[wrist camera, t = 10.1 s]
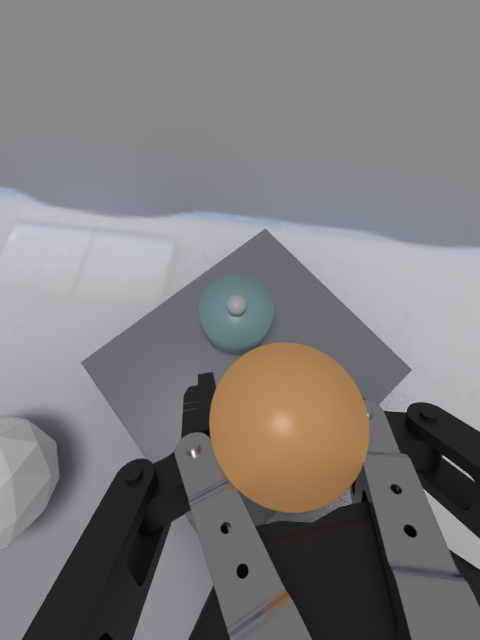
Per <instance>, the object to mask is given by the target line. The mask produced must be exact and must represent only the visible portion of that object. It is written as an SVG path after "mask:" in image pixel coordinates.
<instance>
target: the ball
mask: <svg viewBox="0 0 480 640" xmlns="http://www.w3.org/2000/svg"><path fill="white" fill-rule="evenodd" d="M59 478H60V476H59V466H58V455H57V445H56V442H55V441H54V440H53V439H52V438H50V437H49V436H48V435H47V434H46V433H44V432H43V431H42V430H41V429H39V428H38V427H37V426H36V425H34V424H33V423H31V422H30V421H28V420H27V419H23V418H18V417H14V416H9V415H0V550H2V549H4V548H7V547H8V546H9V545H10V544H11V543H12V542H13V541H14V540H15V539H16V538H17V537H18V536H19V535H20V534H21V533H22V532H23V531H24V530H25V529H26V528H27V527H28V526H29V525H30V524H31V523H32V522H33V521H34V520H35V519H36V518H37V517H38V516H39V515H40V514H41V513H42V512H43V511H44V510H45V508H46V506H47V504H48V502H49V500H50V497H51V495H52V493H53V491H54V489H55V487H56V484H57V482H58V480H59Z"/></svg>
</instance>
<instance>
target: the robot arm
mask: <svg viewBox="0 0 480 640" xmlns="http://www.w3.org/2000/svg"><path fill="white" fill-rule="evenodd" d="M215 390H216V384H215V379H214V374H213V372H207V373H202V374H198V385H196V386H190V387H188V388H187V390H186V392H185V394H184V397H183V414H182V431H181V440H180V441H179V442H178V443H177V445H176V447H175V451H174V452H172V453H171V454H170V455H169V456H167V457H165V458H163V459H161V460H159V461H157V462H155V463H153V464H152V462H151V461H149V460H147V459H136V460H133V461H131V462H129V463H127V464H126V465H125V466H123V467H122V468H121V469H120V470H119V472H118V473H117V474H116V476H115V478H114V480H113V481H112V483H111V485H110V487H109V488H108V490H107V492H106V494H105V495H104V497H103V499H102V501H101V502H100V504H99V506H98V508H97V509H96V511H95V513H94V515H93V516H92V518H91V520H90V522H89V523H88V525H87V527H86V529H85V530H84V532H83V534H82V536H81V537H80V539H79V541H78V543H77V544H76V546H75V548H74V550H73V551H72V553H71V555H70V557H69V558H68V560H67V562H66V564H65V565H64V567H63V569H62V570H61V572H60V574H59V576H58V577H57V579H56V581H55V583H54V584H53V586H52V588H51V590H50V591H49V593H48V595H47V597H46V598H45V600H44V602H43V604H42V605H41V607H40V609H39V611H38V612H37V614H36V616H35V618H34V619H33V621H32V623H31V625H30V626H29V628H28V630H27V632H26V633H25V635H24V637H23V639H22V640H132V639H133V636H134V633H135V630H136V627H137V624H138V621H139V618H140V615H141V612H142V609H143V606H144V603H145V600H146V597H147V594H148V591H149V588H150V585H151V582H152V579H153V576H154V573H155V570H156V567H157V564H158V561H159V558H160V555H161V552H162V549H163V546H164V543H165V540H166V538H167V535H168V532H169V529H170V526H171V522H172V521H174V520H175V519H177V518H179V517H180V516H182V515H184V514H185V513H187V512H189V511H190V510H191V511H192V514H193V518H194V521H195V524H196V528H197V531H198V534H199V538H200V541H201V544H202V548H203V551H204V554H205V558H206V561H207V564H208V568H209V571H210V574H211V577H212V581H213V584H214V585H213V587H212V590H211V592H210V594H209V596H208V598H207V600H206V603H205V605H204V607H203V609H202V611H201V613H200V616H199V618H198V620H197V622H196V624H195V626H194V629H193V631H192V633H191V635H190V637H189V639H188V640H480V570H479V569H478V568H476V567H475V566H473V565H472V564H470V563H469V562H467V561H466V560H464V559H463V558H461V557H460V556H458V555H457V554H455V553H454V552H452V551H451V550H449V549H448V547H447V544H446V542H445V540H444V537H443V535H442V533H441V530H440V528H439V526H438V523H437V521H436V518H435V516H434V514H433V511H432V509H431V507H430V504H429V502H428V500H427V497H426V495H425V492H424V490H423V489H425V490H426V491H427V492H428V493H429V494H430V495H431V496H432V497H434V498H435V499H436V500H437V501H438V502H439V503H440V504H441V505H443V506H444V507H445V508H446V509H447V510H448V511H449V512H450V513H452V514H453V515H454V516H455V517H456V518H457V519H458V520H459V521H461V522H462V523H463V524H464V525H465V526H466V527H467V528H468V529H470V530H471V531H472V532H473V533H474V534H475V535H476V536H477V537H479V538H480V432H479V431H477V430H476V429H474V428H472V427H471V426H469V425H467V424H466V423H464V422H463V421H461V420H459V419H458V418H456V417H454V416H453V415H451V414H449V413H448V412H446V411H445V410H443V409H441V408H439V407H438V406H435V405H433V404H429V403H423V402H419V403H413V404H411V405H410V406H409V407H408V409H407V413H405V412H389V411H383V409H382V408H381V407H380V406H379V405H377V404H376V403H374V402H371V401H368V400H365V399H364V398H363V396H362V398H363V400H364V403H365V406H366V410H367V414H368V420H369V445H368V451H367V455H366V459H365V461H364V462H363V466H362V469H361V471H360V473H359V474H358V476H357V478H356V480H355V481H354V482H353V484H352V485H351V486H350V493H351V498H352V504H351V505H347V506H342V507H339V508H337V509H335V510H334V511H332V512H330V513H329V514H327V515H325V516H323V517H322V518H320V519H318V520H317V521H315V522H312V523H304V522H287V521H277V522H272V523H268V524H264V525H259V526H254V524H253V522H252V520H251V517H250V515H249V513H248V511H247V509H246V507H245V505H244V503H243V501H242V499H241V497H240V495H239V493H238V490H237V488H236V487H235V486H234V485H233V484H232V483H231V482H230V480H229V479H228V478H227V476H226V475H225V473H224V472H223V470H222V469H221V467H220V465H219V463H218V461H217V458H216V456H215V453H214V450H213V447H212V442H211V437H210V427H209V419H210V409H211V403H212V399H213V396H214V393H215ZM442 455H444V456H445V457H446V458H448V459H449V460H450V461H452V462H453V463H454V464H456V465H457V466H458V467H460V468H461V469H463V470H464V471H465V472H467V473H468V474H469V475H470V476H471V477H472V478H473V479H474V481H475V482H474V481H473V480H471V479H470V478H469V477H467V476H466V475H465V474H463V473H462V472H461V471H459V470H458V469H457V468H455V467H454V466H453V465H451V464H450V463H449V462H447V461H446V460H445V459H443V458H442Z"/></svg>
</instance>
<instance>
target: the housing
mask: <svg viewBox="0 0 480 640" xmlns="http://www.w3.org/2000/svg"><path fill="white" fill-rule="evenodd" d="M280 342H289V343H298V344H302V345H306V346H310V347H312V348H315V349H317V350H319V351H321V352H323V353H325V354H327V355H328V356H329V357H331V358H332V359H334V360H335V361H336V362H337V363H338V364H340V365H341V366H342V367H343V368H344V369H345V370H346V372H347V373H348V374H349V375H350V376H351V378H352V379H353V381H354V382H355V384H356V385H357V387H358V389H359V391H360V393H361V395H362V396H363V398H364V399H365V400H368V401H371V402H374V403H376V404H377V405H379V404H380V403H381V402H382V401H383V400H384V398H385V397H386V396H387V395H388V394H389V393H390V392H391V391H392V390H393V389H394V388H395V387H396V386H397V385H398V384H399V383H400V382H401V381H402V380H403V379H404V378H405V377H406V375H407V374H408V373H409V372H410V371H411V370H412V369H411V368H410V367H408V366H407V365H406V364H405V363H404V362H403V361H402V360H401V359H400V358H399V357H398V356H397V355H396V354H395V353H394V352H393V351H392V350H391V349H390V348H389V347H388V346H387V345H386V344H385V343H384V342H383V341H381V340H380V339H379V338H378V337H377V336H376V335H375V334H374V333H373V332H372V331H371V330H370V329H369V328H368V327H367V326H366V325H365V324H364V323H363V322H362V321H361V320H360V319H359V318H358V317H357V316H355V315H354V314H353V313H352V312H351V311H350V310H349V309H348V308H347V307H346V306H345V305H344V304H343V303H342V302H341V301H340V300H339V299H338V298H337V297H336V296H335V295H334V294H333V293H332V292H331V291H329V290H328V289H327V288H326V287H325V286H324V285H323V284H322V283H321V282H320V281H319V280H318V279H317V278H316V277H315V276H314V275H313V274H312V273H311V272H310V271H309V270H308V269H307V268H306V267H305V266H303V265H302V264H301V263H300V262H299V261H298V260H297V259H296V258H295V257H294V256H293V255H292V254H291V253H290V252H289V251H288V250H287V249H286V248H285V247H284V246H283V245H282V244H281V243H280V242H279V241H277V240H276V239H275V238H274V237H273V236H272V235H271V234H270V233H269V232H268V231H267V230H266V229H264V230H263V231H261V232H260V233H259V234H257V235H256V236H255V237H253V238H252V239H250V240H249V241H248V242H246V243H245V244H244V245H242V246H241V247H239V248H238V249H237V250H235V251H234V252H233V253H231V254H230V255H228V256H227V257H226V258H224V259H223V260H221V261H220V262H219V263H217V264H216V265H215V266H213V267H212V268H210V269H209V270H208V271H206V272H205V273H204V274H202V275H201V276H199V277H198V278H197V279H195V280H194V281H193V282H191V283H190V284H188V285H187V286H186V287H184V288H183V289H182V290H180V291H179V292H177V293H176V294H175V295H173V296H172V297H171V298H169V299H168V300H166V301H165V302H164V303H162V304H161V305H159V306H158V307H157V308H155V309H154V310H153V311H151V312H150V313H148V314H147V315H146V316H144V317H143V318H142V319H140V320H139V321H137V322H136V323H135V324H133V325H132V326H131V327H129V328H128V329H126V330H125V331H124V332H122V333H121V334H120V335H118V336H117V337H115V338H114V339H113V340H111V341H110V342H109V343H107V344H106V345H104V346H103V347H102V348H100V349H99V350H97V351H96V352H95V353H93V354H92V355H91V356H89V357H88V358H86V359H85V360H84V361H82V362H81V363H82V365H83V366H84V368H85V369H86V371H87V372H88V374H89V375H90V377H91V378H92V380H93V381H94V382H95V384H96V385H97V387H98V388H99V390H100V391H101V393H102V394H103V396H104V397H105V399H106V400H107V402H108V403H109V404H110V406H111V407H112V409H113V410H114V412H115V413H116V415H117V416H118V418H119V419H120V421H121V422H122V423H123V425H124V426H125V428H126V429H127V431H128V432H129V434H130V435H131V437H132V438H133V440H134V441H135V443H136V444H137V445H138V447H139V448H140V450H141V451H142V453H143V454H144V456H145V457H146V459H147V460H149V461H151V462H152V464H153V463H155V462H157V461H159V460H161V459H163V458H165V457H167V456H169V455H170V454H171V453H172V452H174V451H175V447H176V445H177V443H178V442H179V441H180V440H181V431H182V414H183V397H184V394H185V392H186V390H187V388H188V387H190V386H196V385H198V374H202V373H207V372H213V374H214V379H215V384H216V388H217V386H218V384H219V382H220V380H221V379H222V377H223V375H224V374H225V372H226V371H227V370H228V369H229V367H230V366H231V365H232V364H233V363H234V362H235V361H236V360H238V359H239V358H240V357H242V356H243V355H244V354H246V353H248V352H249V351H251V350H253V349H255V348H258V347H260V346H263V345H267V344H271V343H280ZM237 490H238V489H237ZM238 493H239V495H240V497H241V499H242V501H243V503H244V505H245V507H246V509H247V511H248V513H249V515H250V517H251V520H252V522H253V524H254V526H259V525H264V524H265V523H266V522H267V521H268V520H269V519H270V518H271V517H272V516H273V515H274V513H275V512H276V511H275V510H272V509H269V508H266V507H263V506H261V505H259V504H257V503H255V502H253V501H252V500H251V499H249V498H248V497H246V496H245V495H243V494H242V493H241V492H240V491H239V490H238ZM185 516H186V517H187V519H188V520H189V522H190V523H191V525H192V526H193V527H194V529H195V530H196V532H197V533H198V531H197V528H196V524H195V521H194V518H193V514H192V511H191V510H190V511H189V512H187V513H185ZM198 535H199V534H198Z"/></svg>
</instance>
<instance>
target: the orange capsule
mask: <svg viewBox="0 0 480 640" xmlns="http://www.w3.org/2000/svg"><path fill="white" fill-rule="evenodd" d="M209 427H210V437H211V442H212V447H213V450H214V453H215V456H216V458H217V461H218V463H219V465H220V467H221V469H222V470H223V472H224V473H225V475H226V476H227V478H228V479H229V480H230V482H231V483H232V484H233V485H234V486H235V487H236V488H237V489H238V490H239V491H240V492H241V493H242V494H243V495H245V496H246V497H248V498H249V499H251V500H252V501H253V502H255V503H257V504H259V505H261V506H263V507H266V508H269V509H272V510H275V511H280V512H287V513H301V512H308V511H312V510H316V509H319V508H322V507H324V506H326V505H328V504H330V503H332V502H333V501H335V500H336V499H337V498H339V497H340V496H341V495H342V494H343V493H345V492H346V491H347V490H348V489H349V487H350V486H351V485H352V484H353V482H354V481H355V480H356V478H357V476H358V474H359V473H360V471H361V469H362V466H363V462H364V461H365V459H366V455H367V451H368V445H369V420H368V414H367V410H366V406H365V403H364V400H363V398H362V395H361V393H360V391H359V389H358V387H357V385H356V384H355V382H354V381H353V379H352V378H351V376H350V375H349V374H348V373H347V372H346V370H345V369H344V368H343V367H342V366H341V365H340V364H338V363H337V362H336V361H335V360H334V359H332V358H331V357H329V356H328V355H327V354H325V353H323V352H321V351H319V350H317V349H315V348H312V347H310V346H306V345H302V344H298V343H289V342H280V343H271V344H267V345H263V346H260V347H258V348H255V349H253V350H251V351H249V352H248V353H246V354H244V355H243V356H242V357H240V358H239V359H238V360H236V361H235V362H234V363H233V364H232V365H231V366H230V367H229V369H228V370H227V371H226V372H225V374H224V375H223V377H222V379H221V380H220V382H219V384H218V386H217V388H216V390H215V393H214V396H213V399H212V403H211V409H210V419H209Z"/></svg>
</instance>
